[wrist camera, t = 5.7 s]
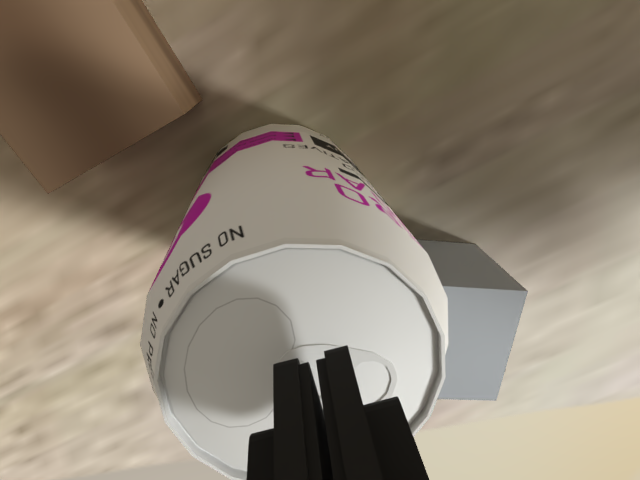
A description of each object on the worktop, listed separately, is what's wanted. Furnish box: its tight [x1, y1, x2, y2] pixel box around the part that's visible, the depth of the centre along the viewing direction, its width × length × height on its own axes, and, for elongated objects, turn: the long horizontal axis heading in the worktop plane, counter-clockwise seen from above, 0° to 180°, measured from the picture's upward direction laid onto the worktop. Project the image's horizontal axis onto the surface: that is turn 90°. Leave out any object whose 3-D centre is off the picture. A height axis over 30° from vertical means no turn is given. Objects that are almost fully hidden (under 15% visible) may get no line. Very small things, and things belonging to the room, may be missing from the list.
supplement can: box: [140, 124, 448, 480], centre depth 19 cm, size 8×8×15 cm
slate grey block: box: [417, 240, 528, 400], centre depth 26 cm, size 6×6×6 cm
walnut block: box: [0, 0, 202, 194], centre depth 20 cm, size 6×6×6 cm
